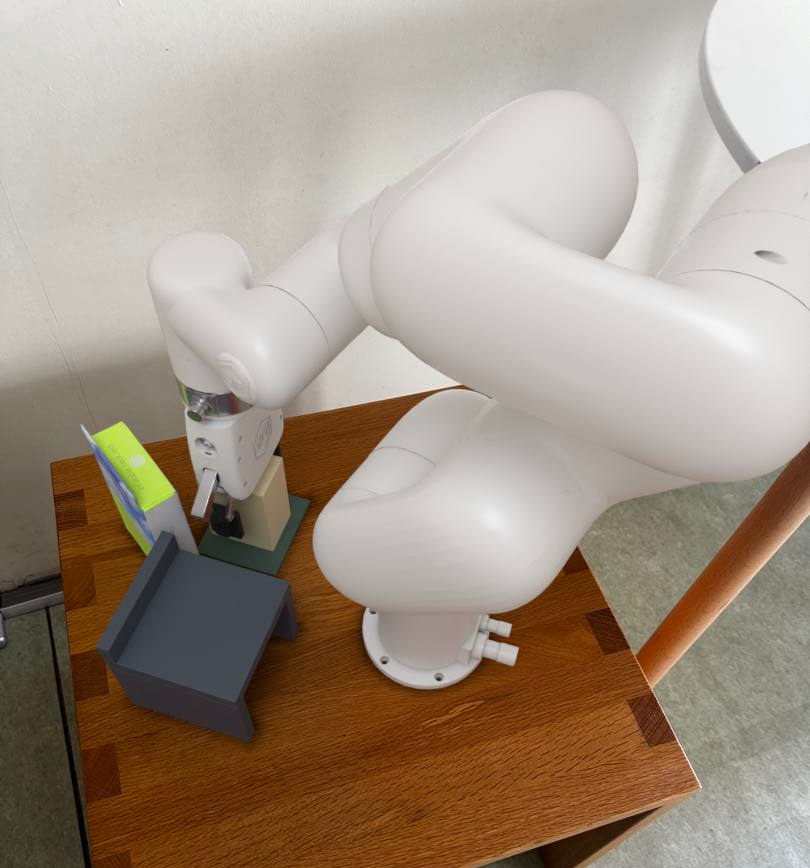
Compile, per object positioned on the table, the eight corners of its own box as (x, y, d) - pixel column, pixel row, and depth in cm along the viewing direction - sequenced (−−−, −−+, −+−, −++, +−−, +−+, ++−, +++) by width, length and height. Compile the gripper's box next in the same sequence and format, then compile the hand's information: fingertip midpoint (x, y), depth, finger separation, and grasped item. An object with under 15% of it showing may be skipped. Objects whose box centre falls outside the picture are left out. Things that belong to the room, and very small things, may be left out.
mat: (310, 502, 91) (310, 500, 91) (275, 577, 86) (275, 575, 86) (234, 480, 93) (234, 478, 92) (195, 553, 87) (195, 551, 87)
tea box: (231, 497, 91) (216, 438, 82) (291, 514, 90) (282, 457, 81) (211, 533, 88) (194, 477, 80) (273, 552, 87) (262, 496, 79)
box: (209, 577, 86) (176, 477, 71) (174, 599, 84) (132, 501, 70) (157, 510, 90) (116, 402, 75) (123, 529, 89) (74, 423, 74)
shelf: (298, 631, 83) (288, 567, 72) (250, 742, 77) (231, 690, 66) (188, 597, 85) (162, 530, 74) (132, 703, 78) (95, 647, 68)
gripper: (220, 464, 65) (248, 575, 79) (301, 318, 74) (314, 441, 88) (132, 440, 66) (176, 554, 80) (223, 298, 75) (248, 423, 89)
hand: (248, 495), depth 84 cm, fingers open, 9 cm apart
